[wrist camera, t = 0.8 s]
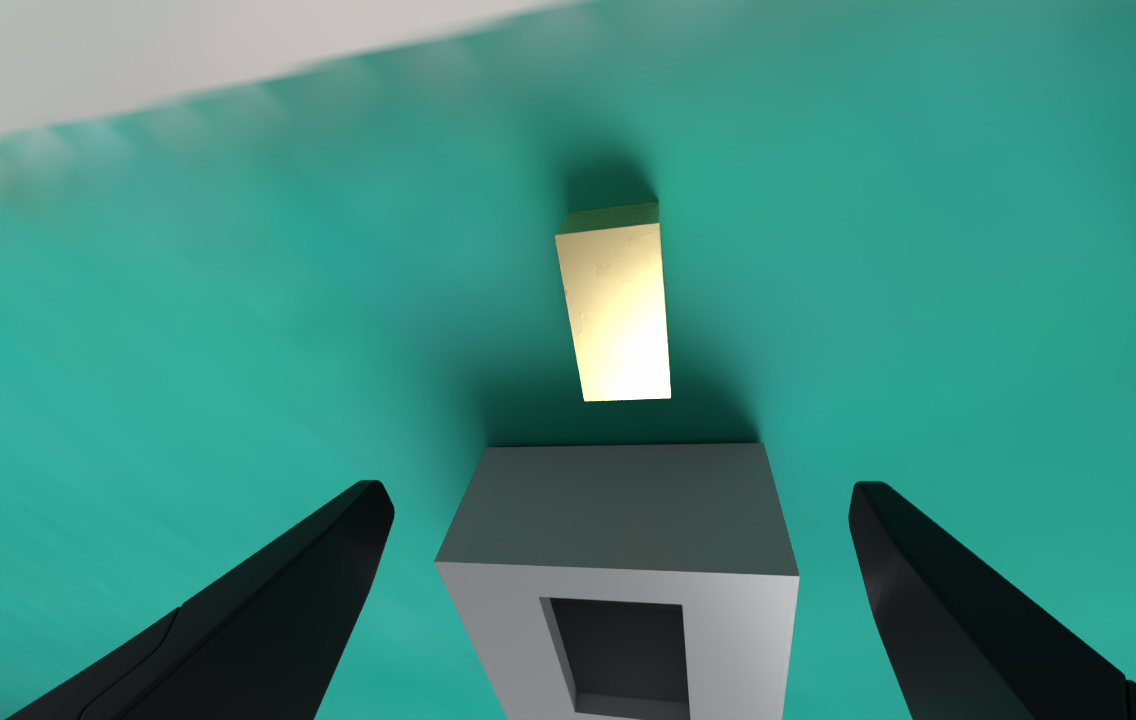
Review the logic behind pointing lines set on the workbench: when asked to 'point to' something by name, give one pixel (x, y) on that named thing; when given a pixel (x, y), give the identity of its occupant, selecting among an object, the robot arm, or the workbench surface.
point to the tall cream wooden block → (616, 300)
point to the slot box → (626, 581)
